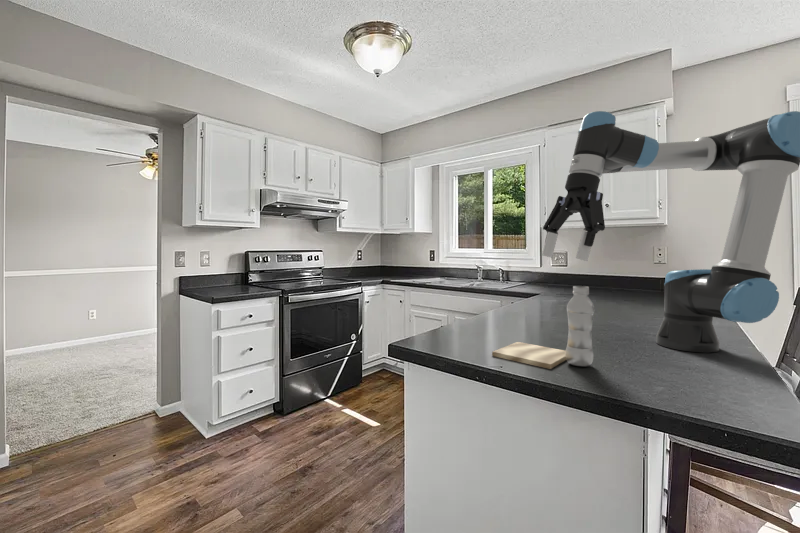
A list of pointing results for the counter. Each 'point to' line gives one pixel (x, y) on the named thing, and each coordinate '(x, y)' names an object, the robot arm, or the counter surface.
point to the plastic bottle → (580, 328)
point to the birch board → (531, 354)
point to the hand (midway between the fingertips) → (563, 258)
